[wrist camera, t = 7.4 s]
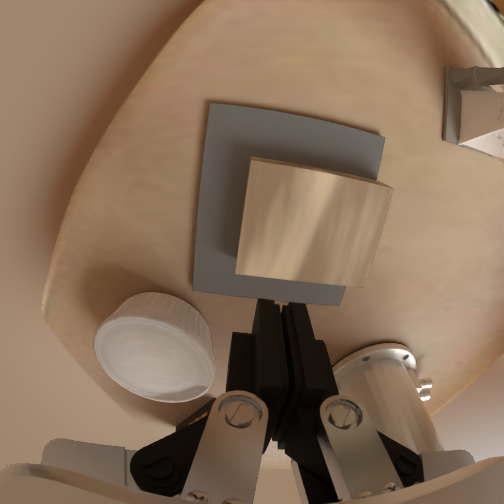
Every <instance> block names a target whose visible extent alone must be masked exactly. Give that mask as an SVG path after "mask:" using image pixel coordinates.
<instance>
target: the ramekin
mask: <svg viewBox="0 0 504 504" xmlns="http://www.w3.org/2000/svg"><path fill="white" fill-rule="evenodd" d="M94 350H95V354H96V357H97V359H98V361H99V363H100V365H101V367H102V368H103V370H104V371H105V372H106V373H107V374H108V375H109V376H110V377H111V378H112V379H113V380H114V381H115V382H116V383H118V384H119V385H120V386H122V387H123V388H125V389H127V390H128V391H130V392H132V393H134V394H137V395H139V396H141V397H144V398H147V399H151V400H155V401H160V402H170V403H178V402H186V401H190V400H193V399H196V398H198V397H200V396H202V395H204V394H205V393H206V392H207V391H208V390H209V389H210V388H211V386H212V384H213V382H214V379H215V373H216V364H215V359H214V356H213V348H212V338H211V333H210V329H209V327H208V324H207V323H206V321H205V319H204V318H203V317H202V316H201V314H200V313H199V312H198V311H197V310H196V309H195V308H194V307H192V306H191V305H190V304H188V303H187V302H185V301H183V300H181V299H179V298H177V297H174V296H172V295H168V294H164V293H155V292H145V293H140V294H138V295H134V296H132V297H130V298H128V299H127V300H126V301H124V302H123V303H122V304H121V305H120V306H119V307H118V309H117V310H116V311H115V312H114V313H113V314H112V315H110V316H109V317H107V318H106V319H105V320H104V321H103V322H102V323H101V324H100V326H99V328H98V330H97V331H96V334H95V337H94Z"/></svg>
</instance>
